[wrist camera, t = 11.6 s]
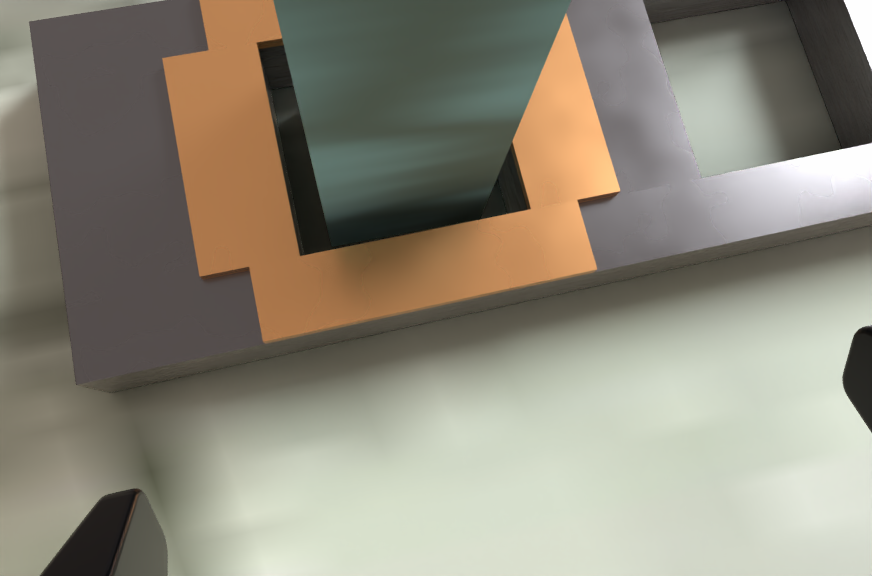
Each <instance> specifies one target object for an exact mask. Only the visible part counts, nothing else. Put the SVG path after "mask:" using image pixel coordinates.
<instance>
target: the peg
mask: <svg viewBox="0 0 872 576" xmlns="http://www.w3.org/2000/svg"><path fill="white" fill-rule="evenodd" d="M273 1H274V6H275V10H276V14H277V18H278V22H279V27H280V31H281V35H282V39H283V44H284V48H285V52H286V56H287V60H288V65H289V69H290V73H291V77H292V81H293V86H294V90H295V94H296V98H297V102H298V107H299V111H300V115H301V119H302V124H303V128H304V132H305V136H306V140H307V145H308V149H309V153H310V157H311V161H312V166H313V170H314V174H315V178H316V182H317V187H318V191H319V195H320V199H321V204H322V208H323V212H324V216H325V220H326V225H327V229H328V233H329V237H330V241H331V246H338V245H343V244H349V243H354V242H360V241H365V240H371V239H376V238H382V237H387V236H393V235H398V234H404V233H409V232H415V231H420V230H426V229H431V228H437V227H442V226H448V225H453V224H459V223H464V222H470V221H475V220H480V218H481V215H482V213H483V210H484V208H485V206H486V203H487V201H488V198H489V196H490V194H491V191H492V189H493V186H494V184H495V182H496V179H497V177H498V174H499V172H500V170H501V167H502V165H503V163H504V160H505V158H506V155H507V153H508V151H509V148H510V146H511V143H512V141H513V139H514V136H515V134H516V131H517V129H518V127H519V124H520V122H521V119H522V117H523V115H524V112H525V110H526V107H527V105H528V103H529V100H530V98H531V95H532V93H533V91H534V88H535V86H536V83H537V81H538V79H539V76H540V74H541V71H542V69H543V67H544V64H545V62H546V60H547V57H548V55H549V52H550V50H551V48H552V45H553V43H554V40H555V38H556V36H557V33H558V31H559V28H560V26H561V24H562V21H563V19H564V16H565V14H566V12H567V9H568V7H569V4H570V2H571V0H273Z"/></svg>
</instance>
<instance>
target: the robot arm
mask: <svg viewBox="0 0 872 576" xmlns="http://www.w3.org/2000/svg"><path fill="white" fill-rule="evenodd" d="M842 378H843V386H844V390H845V392H846V394H847V396H848V398H849V399H850V401H851V402H852V404H853V405H854V407H855V408H856V410H857V411H858V413H859V414H860V416H861V417H862V419H863V420H864V422H865V423H866V425H867V426H868V428H869V429H870V431H871V432H872V325H870V326H866V327H862V328H860V329H859V330H858V331H857V332H856V333H855V334H854V337H853V340H852V343H851V347H850V350H849V354H848V358H847V361H846V365H845V368H844V372H843V377H842ZM40 576H168V554H167V544H166V539H165V535H164V533H163V530H162V528H161V526H160V524H159V522H158V520H157V518H156V515H155V513H154V511H153V509H152V507H151V505H150V503H149V500H148V498H147V496H146V495H145V493H144V492H143V491H142V490H140V489H130V490H125V491H121V492H116V493H112V494H108V495H105V496H103V497H102V498H101V499H100V500H99V501H98V502H97V503H96V504H95V506H94V507H93V508H92V509H91V511H90V512H89V513H88V515H87V516H86V517H85V518H84V520H83V521H82V522H81V524H80V525H79V526H78V527H77V529H76V530H75V531H74V532H73V534H72V535H71V536H70V538H69V539H68V540H67V541H66V543H65V544H64V545H63V546H62V548H61V549H60V550H59V552H58V553H57V554H56V555H55V557H54V558H53V559H52V560H51V562H50V563H49V564H48V566H47V567H46V568H45V569H44V571H43V572H42V573H41V575H40Z"/></svg>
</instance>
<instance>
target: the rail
mask: <svg viewBox="0 0 872 576" xmlns="http://www.w3.org/2000/svg"><path fill="white" fill-rule="evenodd" d="M777 1H783V0H571V2H570V4H569V7H568V9H567V12H566V14H565V16H564V19H563V21H562V24H561V26H560V28H559V31H558V33H557V36H556V38H555V40H554V43H553V45H552V48H551V50H550V52H549V55H548V57H547V60H546V62H545V64H544V67H543V69H542V71H541V74H540V76H539V79H538V81H537V83H536V86H535V88H534V91H533V93H532V95H531V98H530V100H529V103H528V105H527V107H526V110H525V112H524V115H523V117H522V119H521V122H520V124H519V127H518V129H517V131H516V134H515V136H514V139H513V141H512V143H511V146H510V148H509V151H508V153H507V155H506V158H505V160H504V163H503V165H502V167H501V170H500V172H499V174H498V177H497V178H498V182H499V185H500V189H501V193H502V196H503V200H504V204H505V208H506V211H507V214H505V215H500V216H495V217H490V218H485V219H480V220H475V221H471V222H466V223H461V224H456V225H451V226H446V227H441V228H436V229H431V230H426V231H421V232H417V233H412V234H407V235H402V236H397V237H392V238H387V239H382V240H377V241H372V242H367V243H362V244H358V245H353V246H348V247H343V248H338V249H333V250H328V251H323V252H318V253H313V254H308V255H304V250H303V245H302V240H301V235H300V230H299V225H298V220H297V216H296V211H295V206H294V201H293V196H292V191H291V186H290V181H289V176H288V171H287V167H286V162H285V157H284V152H283V147H282V142H281V137H280V132H279V127H278V122H277V117H276V113H275V108H274V103H273V98H272V93H271V89H277V88H282V87H288V86H293V81H292V77H291V73H290V69H289V65H288V60H287V56H286V52H285V48H284V44H283V39H282V35H281V31H280V27H279V22H278V18H277V14H276V10H275V6H274V1H273V0H165V1H159V2H152V3H146V4H139V5H133V6H126V7H120V8H114V9H107V10H101V11H94V12H88V13H81V14H75V15H69V16H62V17H56V18H49V19H43V20H36V21H30V22H29V24H30V32H31V40H32V47H33V55H34V63H35V71H36V78H37V86H38V94H39V101H40V109H41V117H42V125H43V132H44V140H45V148H46V155H47V163H48V171H49V179H50V186H51V194H52V202H53V209H54V217H55V225H56V233H57V240H58V248H59V256H60V263H61V271H62V279H63V287H64V294H65V302H66V310H67V317H68V325H69V333H70V341H71V348H72V356H73V364H74V371H75V379H76V385H79V386H83V387H87V388H92V389H96V390H101V391H105V392H109V393H111V392H116V391H120V390H125V389H129V388H134V387H138V386H143V385H147V384H152V383H157V382H161V381H166V380H170V379H175V378H179V377H184V376H188V375H193V374H197V373H202V372H207V371H211V370H216V369H220V368H225V367H229V366H234V365H238V364H243V363H248V362H252V361H257V360H261V359H266V358H270V357H275V356H279V355H284V354H288V353H293V352H298V351H302V350H307V349H311V348H316V347H320V346H325V345H329V344H334V343H338V342H343V341H348V340H352V339H357V338H361V337H366V336H370V335H375V334H379V333H384V332H388V331H393V330H398V329H402V328H407V327H411V326H416V325H420V324H425V323H429V322H434V321H438V320H443V319H448V318H452V317H457V316H461V315H466V314H470V313H475V312H479V311H484V310H489V309H493V308H498V307H502V306H507V305H511V304H516V303H520V302H525V301H529V300H534V299H539V298H543V297H548V296H552V295H557V294H561V293H566V292H570V291H575V290H579V289H584V288H589V287H593V286H598V285H602V284H607V283H611V282H616V281H620V280H625V279H629V278H634V277H639V276H643V275H648V274H652V273H657V272H661V271H666V270H670V269H675V268H679V267H684V266H689V265H693V264H698V263H702V262H707V261H711V260H716V259H720V258H725V257H730V256H734V255H739V254H743V253H748V252H752V251H757V250H761V249H766V248H770V247H775V246H780V245H784V244H789V243H793V242H798V241H802V240H807V239H811V238H816V237H820V236H825V235H830V234H834V233H839V232H843V231H848V230H852V229H857V228H861V227H866V226H870V225H872V0H786V1H787V4H788V6H789V9H790V12H791V14H792V17H793V20H794V22H795V25H796V28H797V30H798V33H799V35H800V38H801V41H802V43H803V46H804V49H805V51H806V54H807V57H808V59H809V62H810V65H811V67H812V70H813V72H814V75H815V78H816V80H817V83H818V86H819V88H820V91H821V94H822V96H823V99H824V101H825V104H826V107H827V109H828V112H829V115H830V117H831V120H832V123H833V125H834V128H835V130H836V133H837V136H838V138H839V141H840V144H841V146H842V149H841V150H836V151H831V152H827V153H822V154H817V155H812V156H807V157H802V158H797V159H792V160H787V161H782V162H778V163H773V164H768V165H763V166H758V167H753V168H748V169H743V170H738V171H733V172H729V173H724V174H719V175H714V176H709V177H704V178H702V177H701V174H700V171H699V168H698V165H697V162H696V159H695V156H694V153H693V150H692V147H691V144H690V141H689V138H688V135H687V132H686V129H685V126H684V123H683V120H682V117H681V114H680V111H679V108H678V105H677V102H676V99H675V96H674V93H673V90H672V87H671V84H670V81H669V78H668V75H667V72H666V69H665V66H664V63H663V60H662V57H661V54H660V51H659V48H658V45H657V42H656V39H655V36H654V33H653V30H652V27H651V23H656V22H662V21H668V20H674V19H679V18H685V17H691V16H697V15H703V14H708V13H714V12H720V11H726V10H731V9H737V8H743V7H749V6H754V5H760V4H766V3H772V2H777Z"/></svg>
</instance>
